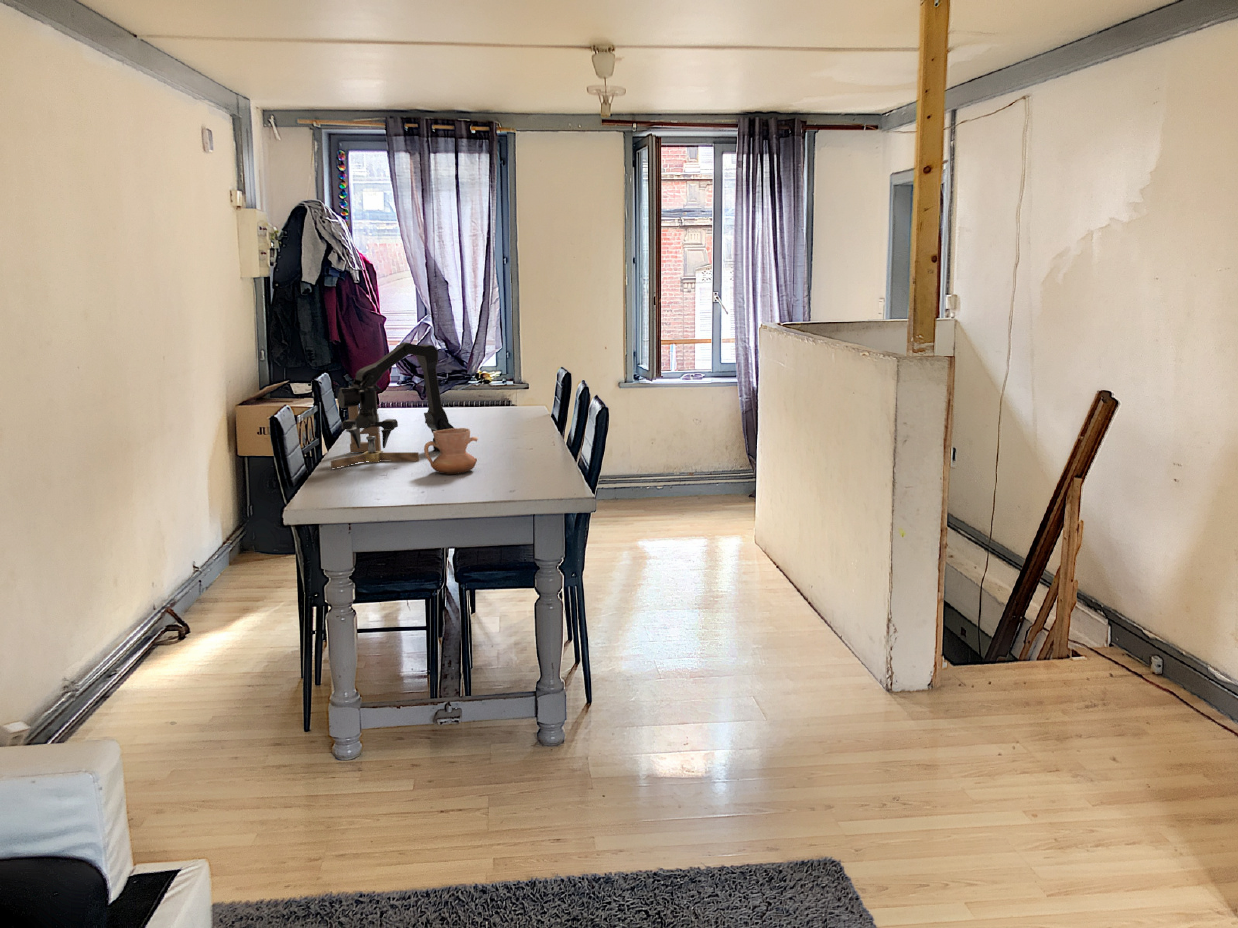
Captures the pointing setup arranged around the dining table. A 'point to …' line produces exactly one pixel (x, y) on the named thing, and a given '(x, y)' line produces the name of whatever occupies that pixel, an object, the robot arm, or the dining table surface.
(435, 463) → the ceramic jug
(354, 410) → the wooden block
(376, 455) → the tan piece
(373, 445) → the hinge pin
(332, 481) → the dining table surface
